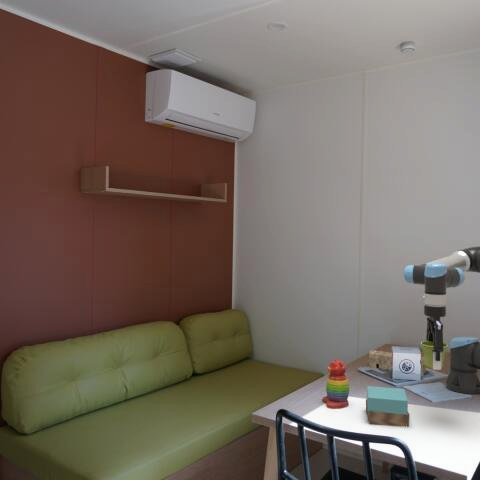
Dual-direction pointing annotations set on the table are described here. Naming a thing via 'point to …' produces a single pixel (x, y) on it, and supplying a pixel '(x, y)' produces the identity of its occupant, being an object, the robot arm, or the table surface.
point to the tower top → (387, 400)
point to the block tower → (387, 360)
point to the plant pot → (431, 353)
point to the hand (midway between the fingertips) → (433, 365)
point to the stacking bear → (337, 386)
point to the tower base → (387, 418)
